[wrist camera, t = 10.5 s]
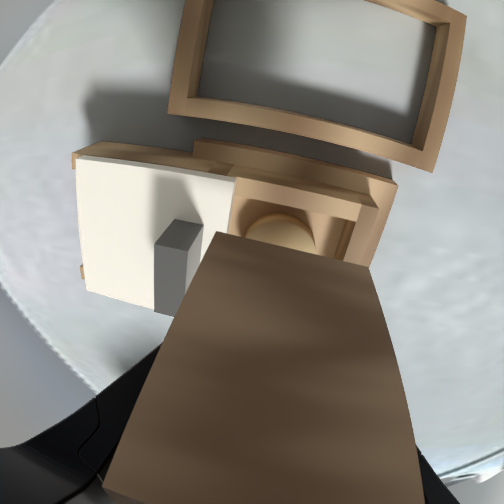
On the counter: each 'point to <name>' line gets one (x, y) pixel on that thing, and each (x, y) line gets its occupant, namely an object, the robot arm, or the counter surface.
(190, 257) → the lid
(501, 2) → the counter surface
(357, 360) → the walnut block
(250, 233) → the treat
